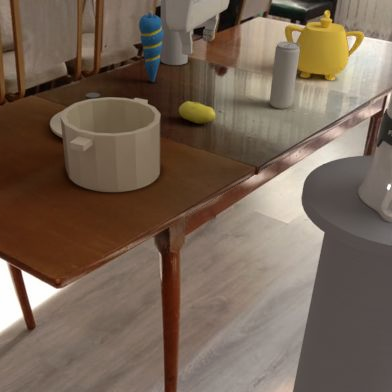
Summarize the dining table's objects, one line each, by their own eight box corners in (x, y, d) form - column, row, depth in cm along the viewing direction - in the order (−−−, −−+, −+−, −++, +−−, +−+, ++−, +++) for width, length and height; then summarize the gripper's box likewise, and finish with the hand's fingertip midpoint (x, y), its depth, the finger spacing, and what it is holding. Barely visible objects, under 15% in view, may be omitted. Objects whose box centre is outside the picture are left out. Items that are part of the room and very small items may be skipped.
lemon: (185, 114, 127) (186, 94, 124) (219, 123, 124) (220, 104, 121) (173, 120, 124) (174, 100, 122) (207, 130, 121) (208, 110, 118)
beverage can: (265, 106, 132) (272, 45, 124) (273, 99, 135) (280, 39, 127) (287, 111, 130) (295, 49, 122) (295, 103, 133) (303, 43, 125)
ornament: (155, 87, 137) (154, 12, 128) (135, 83, 139) (133, 8, 129) (167, 81, 141) (168, 7, 131) (148, 76, 143) (147, 3, 133)
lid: (154, 121, 124) (153, 89, 119) (111, 153, 112) (110, 119, 108) (80, 105, 128) (78, 74, 124) (32, 134, 117) (28, 101, 112)
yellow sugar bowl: (361, 76, 148) (372, 21, 140) (318, 87, 142) (327, 30, 134) (319, 59, 156) (328, 7, 149) (277, 69, 150) (283, 14, 142)
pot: (181, 156, 112) (183, 102, 106) (125, 208, 97) (122, 150, 91) (104, 138, 117) (101, 86, 110) (39, 185, 102) (31, 129, 96)
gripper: (209, -53, 114) (205, 30, 123) (158, -33, 99) (158, 59, 109) (241, -48, 112) (234, 35, 121) (195, -28, 98) (191, 65, 107)
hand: (198, 46), depth 115 cm, fingers open, 8 cm apart
